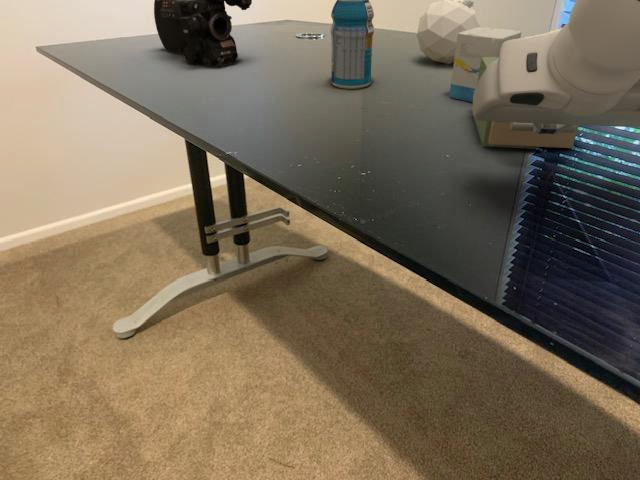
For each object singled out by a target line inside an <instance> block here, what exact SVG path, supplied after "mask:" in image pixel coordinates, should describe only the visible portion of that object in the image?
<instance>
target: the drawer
mask: <svg viewBox="0 0 640 480" xmlns="http://www.w3.org/2000/svg"><path fill="white" fill-rule="evenodd" d="M533 127H534V125H533V123H518V122H492V123H491V129H490V134H489V140H488V142H489V144H490V145H512V146H535V147H539V148H561V149H573V148H574V145H573V143H574V144H575V141H576V138H575V136H576V137H577V134H576V132H577V133H578V130H579V127H578V125H575V126H572V127H569V128H566V129H563V130H561V131H560V132H559V133H558V134H538V133H534V132H533ZM577 129H578V130H577ZM574 140H575V141H574Z"/></svg>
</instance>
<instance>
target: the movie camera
mask: <svg viewBox="0 0 640 480" xmlns="http://www.w3.org/2000/svg"><path fill="white" fill-rule="evenodd" d="M252 4H253V0H154V3H153V16H154V17H153V18H154V23H155V28H156V30H157V34H158V37H159V40H160V43H161V44H162V47H163V48H164V49H165V51H167V52H169V53H173V54H177V55H183V58H184V59H185V60H186V62H187V64H188V65H193V66H195V65H205V66H212V67H213V66H214V67H215V66H229V65H232V64H236V63H239V62H240V60H238V58H239V54H238V50H237V44H236V40H235V38H234V37H233V36H232V35H231V32H232V28H233V25H232V18H233V17H232V16H231V15H229V14H228V13H227V10H226V5H227V6H229V7H235V6H236V7H238V8H240V10H241V11H247V9H250V7H251V5H252ZM219 59H223V60H222V61H220V60H219Z"/></svg>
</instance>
